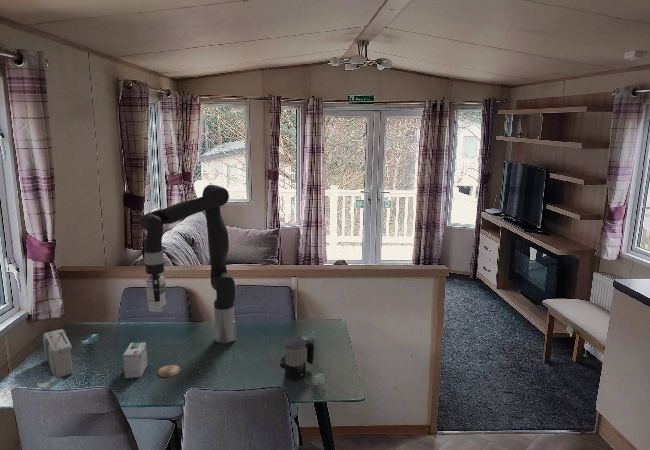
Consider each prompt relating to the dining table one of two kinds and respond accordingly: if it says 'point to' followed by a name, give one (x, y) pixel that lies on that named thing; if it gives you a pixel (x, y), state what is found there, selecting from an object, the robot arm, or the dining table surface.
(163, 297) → the syrup box
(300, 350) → the milk frother
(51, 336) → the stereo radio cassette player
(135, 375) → the light bulb box
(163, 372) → the cork coaster
